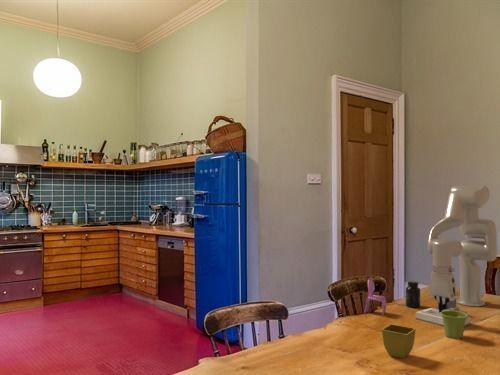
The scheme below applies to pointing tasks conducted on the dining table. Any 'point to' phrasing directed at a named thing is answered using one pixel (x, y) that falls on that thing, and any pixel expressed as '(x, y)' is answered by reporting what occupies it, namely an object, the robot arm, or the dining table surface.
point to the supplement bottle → (412, 295)
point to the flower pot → (398, 340)
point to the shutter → (455, 310)
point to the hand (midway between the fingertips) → (442, 312)
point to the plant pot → (453, 323)
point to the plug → (451, 304)
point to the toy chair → (374, 297)
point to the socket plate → (435, 317)
